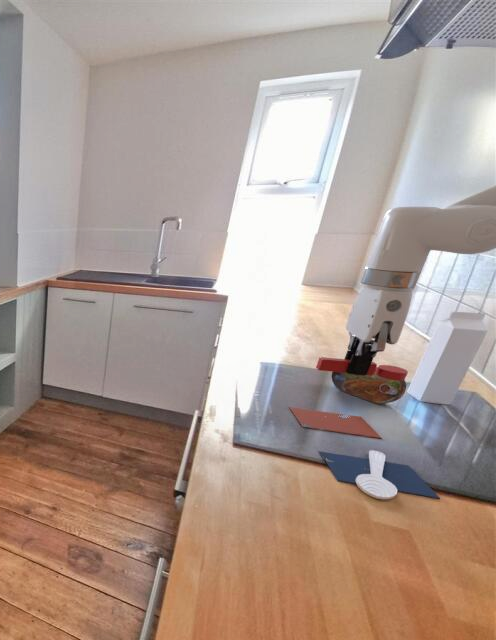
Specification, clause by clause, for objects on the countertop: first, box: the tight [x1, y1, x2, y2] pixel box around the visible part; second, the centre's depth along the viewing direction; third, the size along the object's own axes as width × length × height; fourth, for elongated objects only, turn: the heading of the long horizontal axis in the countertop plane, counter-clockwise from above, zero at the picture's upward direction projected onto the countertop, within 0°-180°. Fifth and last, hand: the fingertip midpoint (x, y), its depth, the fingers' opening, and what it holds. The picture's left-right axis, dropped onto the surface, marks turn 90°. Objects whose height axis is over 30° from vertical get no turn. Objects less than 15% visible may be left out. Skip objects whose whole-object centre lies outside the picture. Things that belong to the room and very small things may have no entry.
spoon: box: [355, 449, 398, 500], centre depth 74 cm, size 5×18×1 cm, turn 138°
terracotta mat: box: [289, 406, 382, 440], centre depth 93 cm, size 14×10×1 cm
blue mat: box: [318, 450, 441, 500], centre depth 75 cm, size 14×10×1 cm
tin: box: [331, 365, 407, 405], centre depth 103 cm, size 15×3×8 cm, turn 17°
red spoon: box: [315, 356, 409, 381], centre depth 82 cm, size 14×4×2 cm, turn 70°
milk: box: [406, 311, 489, 406], centre depth 99 cm, size 6×6×22 cm
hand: (353, 371), depth 83 cm, fingers closed on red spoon, 1 cm apart
